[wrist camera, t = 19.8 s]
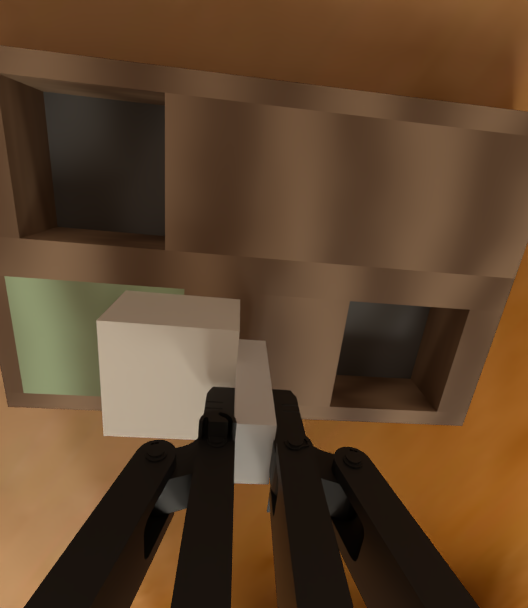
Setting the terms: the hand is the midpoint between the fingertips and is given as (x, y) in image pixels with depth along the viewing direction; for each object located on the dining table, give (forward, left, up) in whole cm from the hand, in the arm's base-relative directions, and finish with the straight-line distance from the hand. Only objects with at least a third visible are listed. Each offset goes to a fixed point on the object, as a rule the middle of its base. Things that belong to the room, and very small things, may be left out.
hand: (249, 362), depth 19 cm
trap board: (0, -4, -6) cm, 7 cm away
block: (+4, 0, -2) cm, 4 cm away
